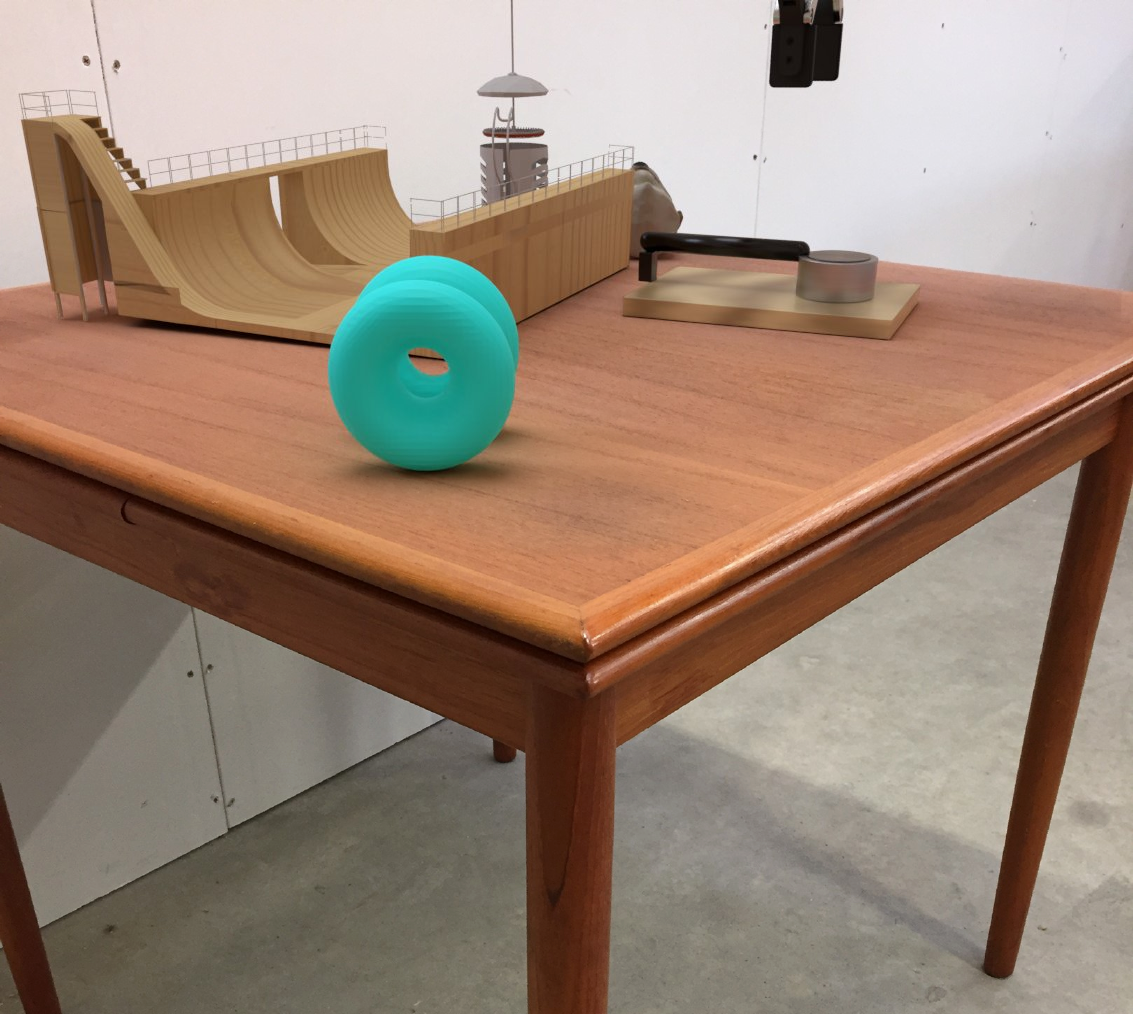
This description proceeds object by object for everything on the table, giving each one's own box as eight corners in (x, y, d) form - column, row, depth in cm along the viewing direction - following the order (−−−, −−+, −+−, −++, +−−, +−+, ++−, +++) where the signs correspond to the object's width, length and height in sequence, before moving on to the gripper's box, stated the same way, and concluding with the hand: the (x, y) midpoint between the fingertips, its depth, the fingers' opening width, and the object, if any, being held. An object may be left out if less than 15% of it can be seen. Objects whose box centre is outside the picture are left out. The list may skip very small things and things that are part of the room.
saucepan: (879, 291, 103) (886, 240, 101) (865, 305, 98) (872, 252, 96) (650, 273, 110) (652, 224, 108) (626, 285, 105) (627, 235, 103)
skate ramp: (447, 373, 89) (441, 126, 81) (56, 317, 100) (15, 93, 91) (629, 276, 121) (639, 91, 112) (318, 241, 131) (305, 69, 123)
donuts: (333, 477, 67) (314, 285, 62) (358, 424, 75) (344, 250, 70) (515, 478, 67) (512, 286, 62) (521, 424, 75) (518, 251, 70)
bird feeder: (564, 217, 148) (564, -29, 134) (544, 233, 138) (543, -31, 125) (484, 215, 149) (477, -29, 136) (459, 230, 139) (449, -31, 126)
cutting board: (918, 302, 107) (920, 284, 106) (889, 339, 95) (892, 319, 94) (676, 283, 114) (677, 265, 113) (622, 315, 102) (622, 296, 101)
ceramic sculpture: (593, 164, 117) (581, 157, 131) (591, 261, 122) (580, 245, 135) (703, 165, 118) (680, 158, 131) (698, 261, 122) (676, 245, 135)
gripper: (856, -214, 78) (830, 90, 87) (898, -181, 92) (872, 78, 101) (742, -205, 81) (728, 90, 90) (799, -175, 95) (783, 78, 103)
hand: (804, 83), depth 95 cm, fingers open, 9 cm apart
